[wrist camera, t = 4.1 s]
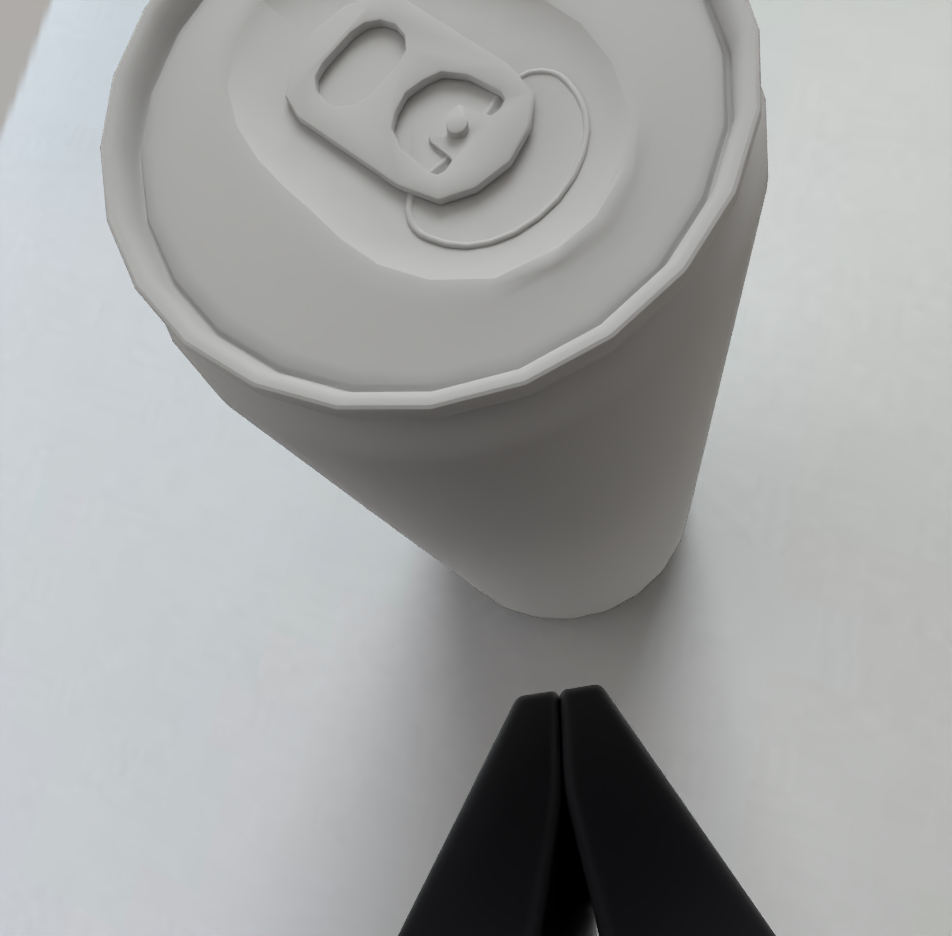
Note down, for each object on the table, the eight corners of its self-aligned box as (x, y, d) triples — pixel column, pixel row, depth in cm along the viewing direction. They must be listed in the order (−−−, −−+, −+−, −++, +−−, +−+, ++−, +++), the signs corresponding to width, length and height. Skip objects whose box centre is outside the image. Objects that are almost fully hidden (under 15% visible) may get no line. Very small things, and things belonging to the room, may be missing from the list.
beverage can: (579, 677, 17) (442, 600, 5) (390, 515, 18) (-46, 172, 7) (742, 475, 17) (951, -10, 6) (545, 334, 18) (387, -283, 7)
